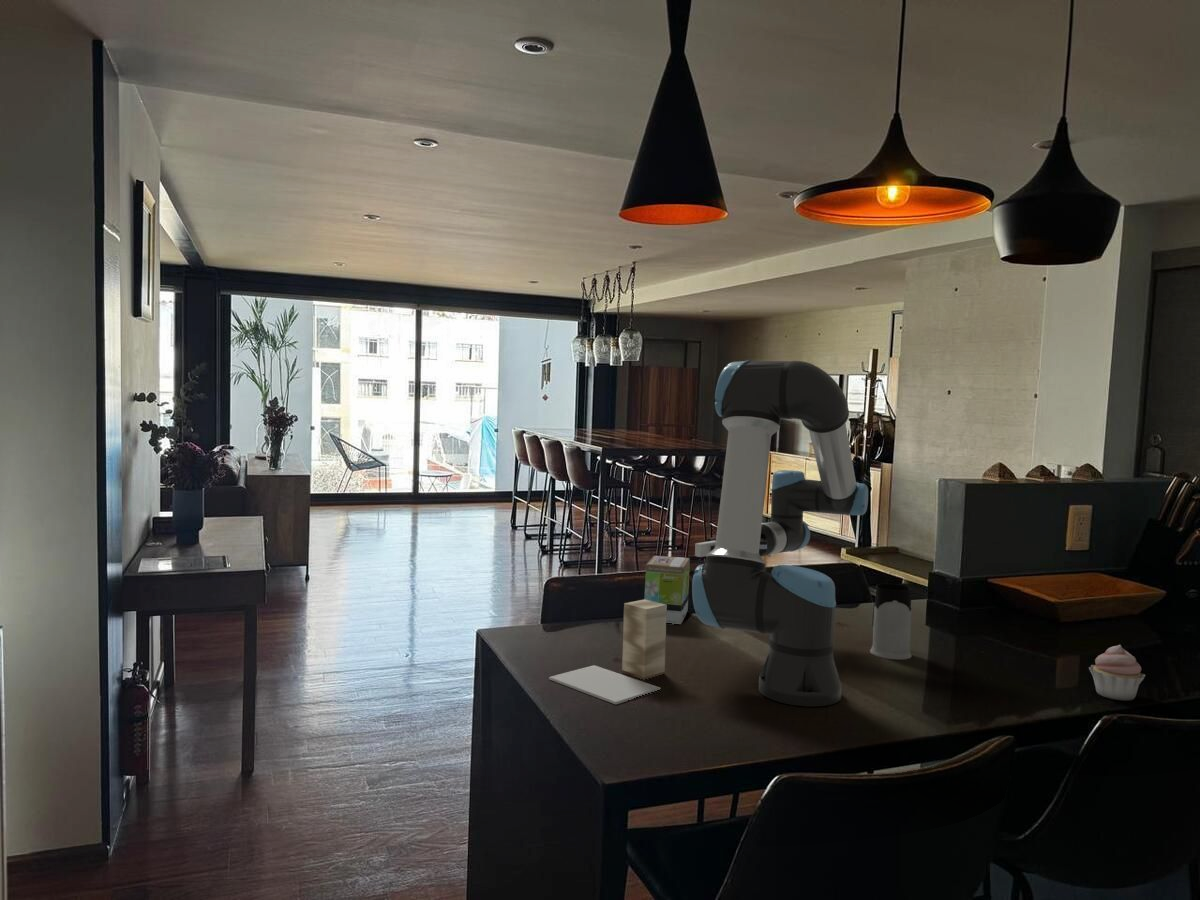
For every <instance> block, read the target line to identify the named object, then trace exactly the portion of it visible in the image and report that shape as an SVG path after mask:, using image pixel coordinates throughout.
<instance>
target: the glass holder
mask: <svg viewBox="0 0 1200 900" xmlns="http://www.w3.org/2000/svg"><path fill="white" fill-rule="evenodd" d="M874 601H875V602H874V607H873V626H872V627H873V630H872V645H871V648H870V650H869V652H870V653H871V654H872V655H874V656H876V657H879V658H883V659H889V660H908V659H911V658H912V653H911V632H912V630H911V627H912V611H913V610H912V587H911V586H908V585H904V584H899V583H878V584H876V585H875V599H874Z"/></svg>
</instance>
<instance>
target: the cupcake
mask: <svg viewBox="0 0 1200 900" xmlns="http://www.w3.org/2000/svg"><path fill="white" fill-rule="evenodd" d="M1094 662H1095V664H1091V665H1090V666H1089V667H1088V670H1089V672H1090V673H1091V675H1092V678H1093V682H1094V686H1095V691H1096V694H1098V695H1099V696H1102V697H1104V698H1108V699H1110V700H1117V701H1133V700H1135V698H1136V696H1137V693H1138V691H1139V690H1138V689H1139V686H1140V684H1141V683H1142V681H1144V679H1145V677H1146V674H1145V673H1141V671H1142V667H1141V664H1139V662H1137V659H1136V657H1135V656H1133V655H1132V654H1131V653H1129V651H1127V650H1125V648H1123V647H1122V645H1121V644H1118V645H1114V646H1111V647H1108V648H1107V649H1106V650H1105V652H1104V653H1101V654H1099V655H1097V657H1096V658H1095V659H1094Z"/></svg>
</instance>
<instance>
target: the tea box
mask: <svg viewBox="0 0 1200 900" xmlns="http://www.w3.org/2000/svg"><path fill="white" fill-rule="evenodd" d="M690 562H691V559H690V557H681V556H680V557H679V556H677V557H676V556H664V555H653V556H652V558H651V559H650V560H648V562H647V563H646V564H645V581H644V596H643V597H644V598H643V600H644V599H645V600H649V601H653V602H657V603H661V604H666V605H667V614H666V623H672V624H671V625H674V624H681V625H682V623H683V621H684V619H685V617H686V615H687V612H688V607H689V591H690V589H689V587H690V567H691V563H690Z"/></svg>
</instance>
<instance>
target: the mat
mask: <svg viewBox="0 0 1200 900" xmlns="http://www.w3.org/2000/svg"><path fill="white" fill-rule="evenodd" d="M548 679H549V681H553V682H554V683H558V684H560V685H563V686H565V687H568V688H571V689H573V690H576V691H579V692H581V693H584V694H587V695H590V696H591V697H594V698H596V699H600V700H602V701H605V702H609V703H611V704H613V705H619V704H622V703H624V702H625V703H626V702H629V701H631V700H634V698H635V699H637V698H636V697H638V698H640V697H639V696H641V697H643V696H642V695H644V696H646V695H645V694H647V695H649V694H648V693H650V694H652V693H651V692H654V691H657V690H660V689H661V687H660V686H656V685H653V684H650V683H649V682H648V683H647V682H645V681H643V680H639V679H637V678H634V677H632V676H629V675H626V674H623V673H618V672H615V671H613V670H610V669H606V668H603V667H601V666H598V665H590V666H586V667H582V668H578V669H574V670H570V671H567V672H563V673H560V674H559V673H558V674H555V675H552V676H549V678H548ZM660 691H661V690H660ZM657 692H658V691H657ZM654 693H655V692H654ZM628 700H629V701H628Z"/></svg>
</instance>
